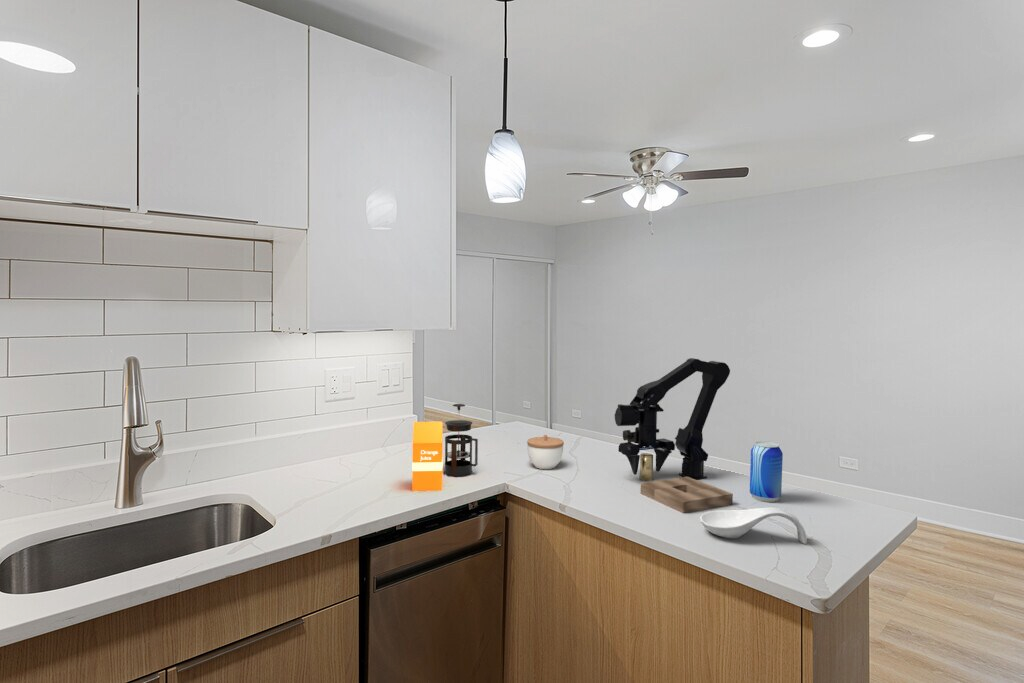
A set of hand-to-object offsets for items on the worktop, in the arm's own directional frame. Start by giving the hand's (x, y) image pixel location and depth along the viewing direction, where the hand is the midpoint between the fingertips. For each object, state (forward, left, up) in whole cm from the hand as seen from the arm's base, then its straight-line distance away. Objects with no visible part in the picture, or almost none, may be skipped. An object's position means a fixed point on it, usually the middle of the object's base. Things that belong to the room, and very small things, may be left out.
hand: (646, 472), depth 180 cm
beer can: (-20, +29, -2) cm, 35 cm away
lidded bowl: (+23, -26, -2) cm, 35 cm away
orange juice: (+67, -20, -2) cm, 70 cm away
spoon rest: (+7, +47, -2) cm, 48 cm away
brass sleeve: (0, 0, -2) cm, 2 cm away
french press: (+53, -30, -2) cm, 61 cm away
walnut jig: (+2, +20, -2) cm, 20 cm away
